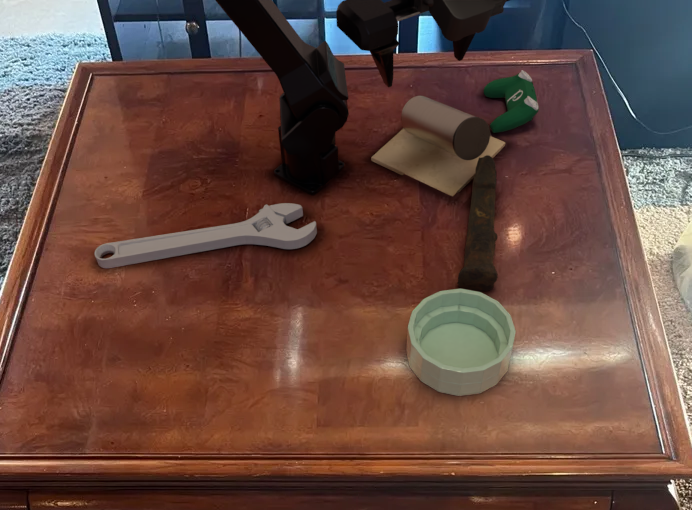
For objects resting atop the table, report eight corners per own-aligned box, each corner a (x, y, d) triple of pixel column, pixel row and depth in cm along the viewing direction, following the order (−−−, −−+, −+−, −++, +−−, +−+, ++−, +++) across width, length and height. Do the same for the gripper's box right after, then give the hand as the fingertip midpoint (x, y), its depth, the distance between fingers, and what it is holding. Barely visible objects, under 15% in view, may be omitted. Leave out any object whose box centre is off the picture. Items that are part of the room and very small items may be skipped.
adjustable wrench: (97, 271, 91) (92, 261, 90) (101, 231, 95) (97, 220, 94) (316, 247, 92) (315, 236, 90) (311, 209, 96) (310, 197, 94)
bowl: (387, 364, 82) (387, 337, 78) (443, 302, 86) (446, 273, 83) (473, 416, 77) (478, 390, 74) (527, 347, 82) (534, 320, 79)
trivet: (370, 160, 101) (371, 157, 100) (425, 111, 106) (425, 107, 106) (452, 199, 96) (452, 195, 95) (505, 146, 101) (505, 142, 101)
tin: (393, 116, 100) (446, 140, 90) (420, 86, 100) (477, 108, 90) (414, 142, 103) (467, 168, 93) (440, 114, 103) (497, 137, 93)
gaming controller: (506, 147, 104) (545, 119, 100) (487, 130, 102) (527, 101, 98) (497, 102, 109) (534, 75, 106) (480, 86, 107) (517, 57, 104)
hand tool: (493, 297, 86) (499, 267, 83) (456, 292, 87) (460, 262, 83) (506, 179, 98) (512, 149, 94) (473, 176, 98) (477, 145, 94)
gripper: (392, -4, 70) (389, 140, 83) (563, -63, 75) (536, 81, 88) (330, -57, 77) (336, 84, 89) (493, -108, 81) (477, 33, 94)
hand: (423, 71), depth 90 cm, fingers open, 9 cm apart
